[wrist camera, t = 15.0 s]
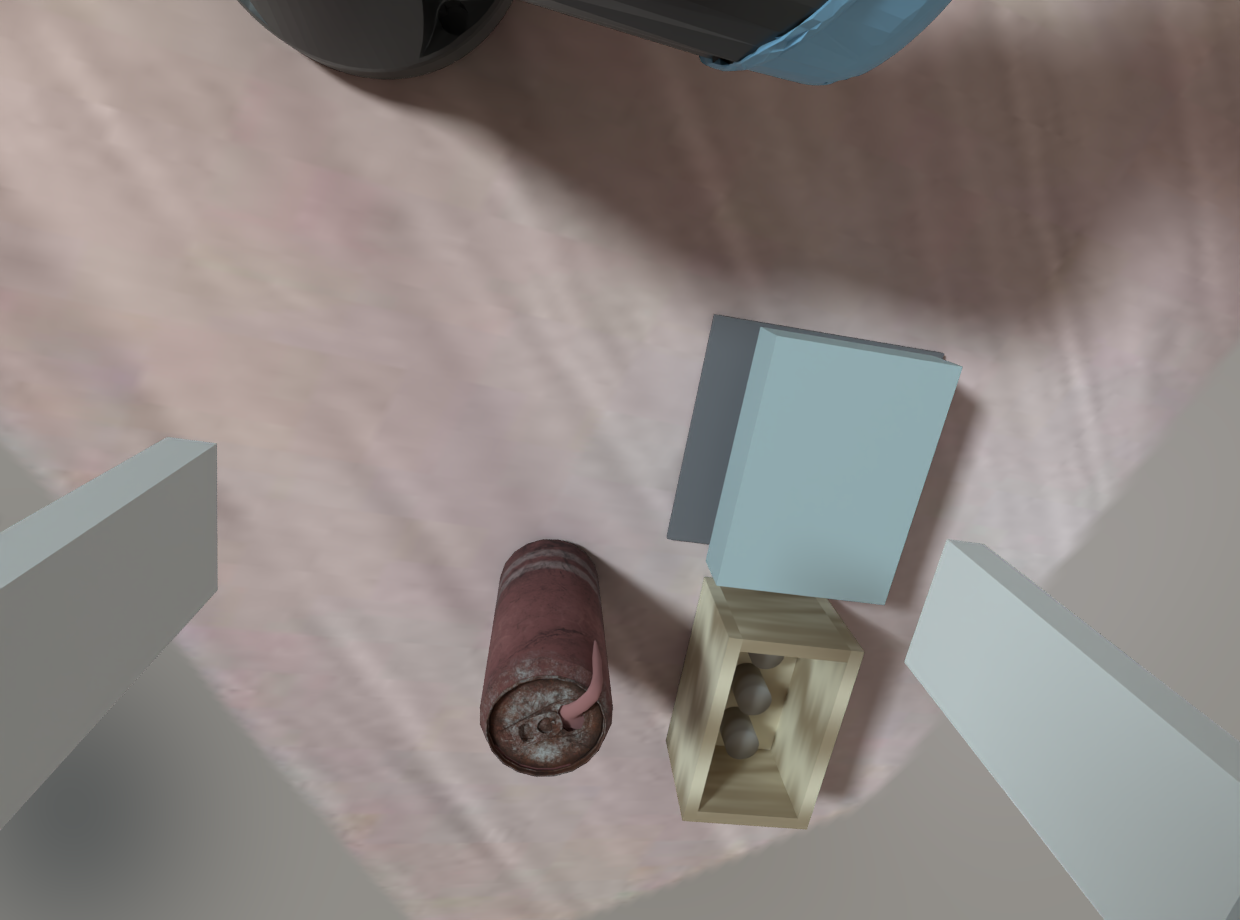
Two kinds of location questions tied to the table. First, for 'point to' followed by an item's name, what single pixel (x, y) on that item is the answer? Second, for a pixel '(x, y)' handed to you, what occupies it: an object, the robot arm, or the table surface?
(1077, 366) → the table surface
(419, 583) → the table surface
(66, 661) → the robot arm
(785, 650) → the crate
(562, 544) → the can
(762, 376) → the lid
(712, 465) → the mat
